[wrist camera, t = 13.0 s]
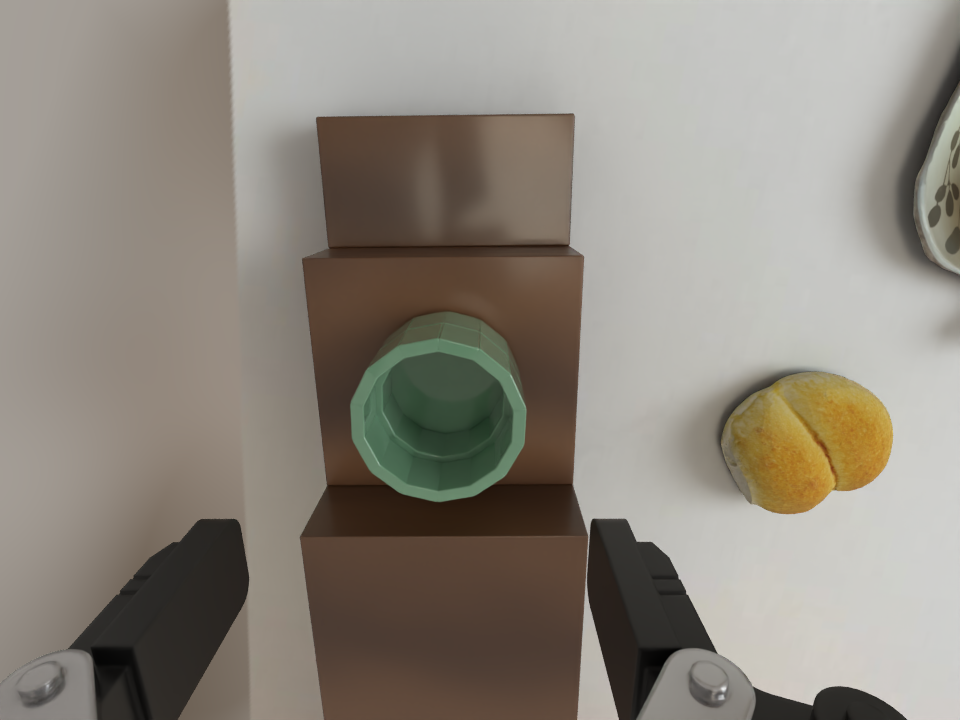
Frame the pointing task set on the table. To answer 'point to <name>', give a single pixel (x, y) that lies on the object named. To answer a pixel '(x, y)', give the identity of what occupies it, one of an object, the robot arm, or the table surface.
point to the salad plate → (941, 191)
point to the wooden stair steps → (499, 508)
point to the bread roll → (806, 441)
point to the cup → (440, 408)
